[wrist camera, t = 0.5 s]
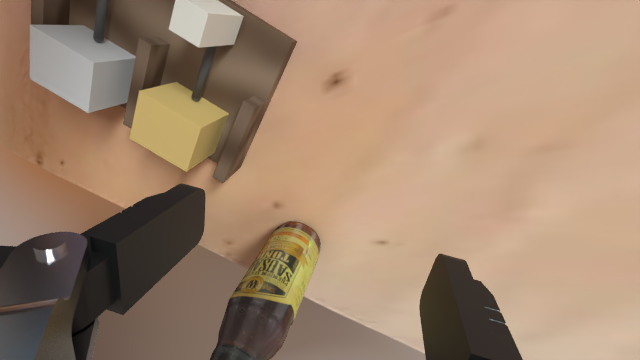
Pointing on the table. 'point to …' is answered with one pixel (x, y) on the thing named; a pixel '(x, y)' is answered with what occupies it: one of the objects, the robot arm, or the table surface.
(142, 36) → the lane rack
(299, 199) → the table surface
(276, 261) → the sauce bottle
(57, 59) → the white block with handle
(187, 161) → the ochre block
